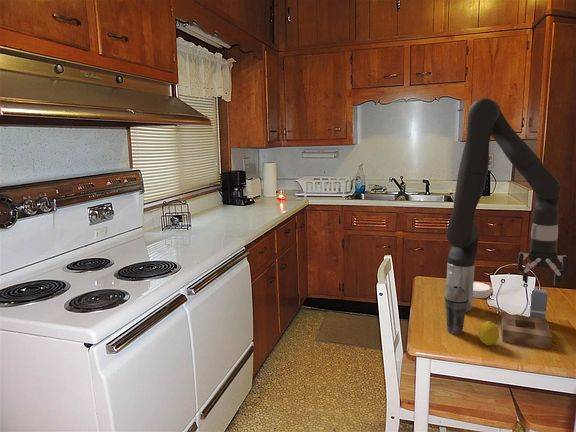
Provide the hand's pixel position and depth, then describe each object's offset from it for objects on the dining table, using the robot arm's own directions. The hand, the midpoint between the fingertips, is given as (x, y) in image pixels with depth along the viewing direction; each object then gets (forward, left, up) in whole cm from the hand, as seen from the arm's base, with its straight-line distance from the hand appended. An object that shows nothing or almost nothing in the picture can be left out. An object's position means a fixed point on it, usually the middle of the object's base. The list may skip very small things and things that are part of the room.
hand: (540, 284), depth 142 cm
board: (-5, -13, -14) cm, 19 cm away
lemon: (-15, -24, -14) cm, 32 cm away
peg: (0, 0, -14) cm, 14 cm away
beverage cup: (-25, -18, -14) cm, 34 cm away
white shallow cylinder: (-19, +20, -14) cm, 31 cm away
